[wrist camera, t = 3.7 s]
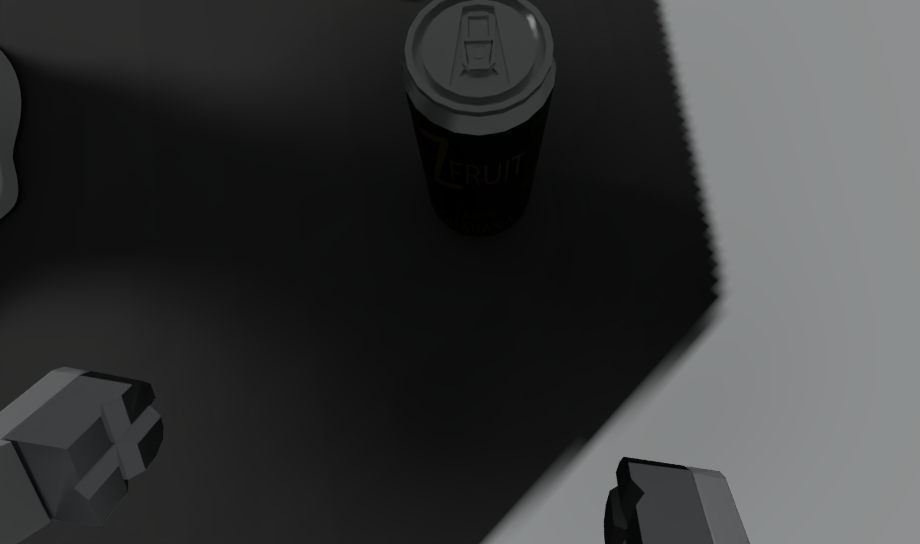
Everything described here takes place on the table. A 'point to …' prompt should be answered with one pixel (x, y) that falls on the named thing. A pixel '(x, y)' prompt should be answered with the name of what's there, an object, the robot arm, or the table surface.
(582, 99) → the table surface
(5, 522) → the robot arm
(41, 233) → the table surface
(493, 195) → the beer can
